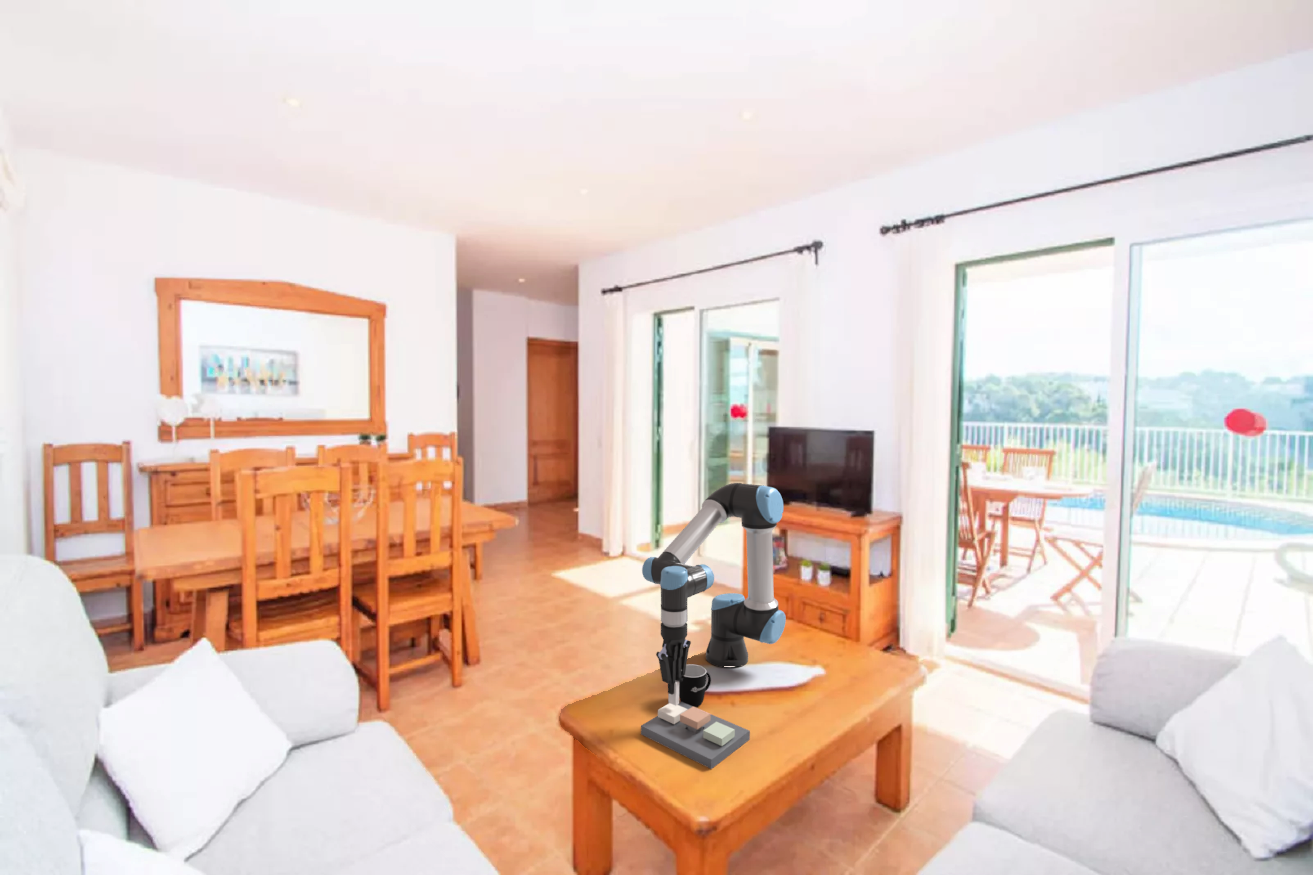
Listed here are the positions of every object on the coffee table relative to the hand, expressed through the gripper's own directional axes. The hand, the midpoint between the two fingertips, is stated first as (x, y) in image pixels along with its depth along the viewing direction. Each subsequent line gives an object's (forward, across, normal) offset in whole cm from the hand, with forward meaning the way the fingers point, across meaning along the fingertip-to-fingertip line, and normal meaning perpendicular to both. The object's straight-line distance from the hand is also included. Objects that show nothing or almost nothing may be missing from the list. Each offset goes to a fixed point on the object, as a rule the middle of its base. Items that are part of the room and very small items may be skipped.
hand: (673, 703), depth 174 cm
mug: (+7, -16, -4) cm, 18 cm away
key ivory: (+6, +1, 0) cm, 6 cm away
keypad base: (+7, 0, +8) cm, 10 cm away
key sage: (+6, +1, +16) cm, 17 cm away
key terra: (+5, 0, +8) cm, 9 cm away
